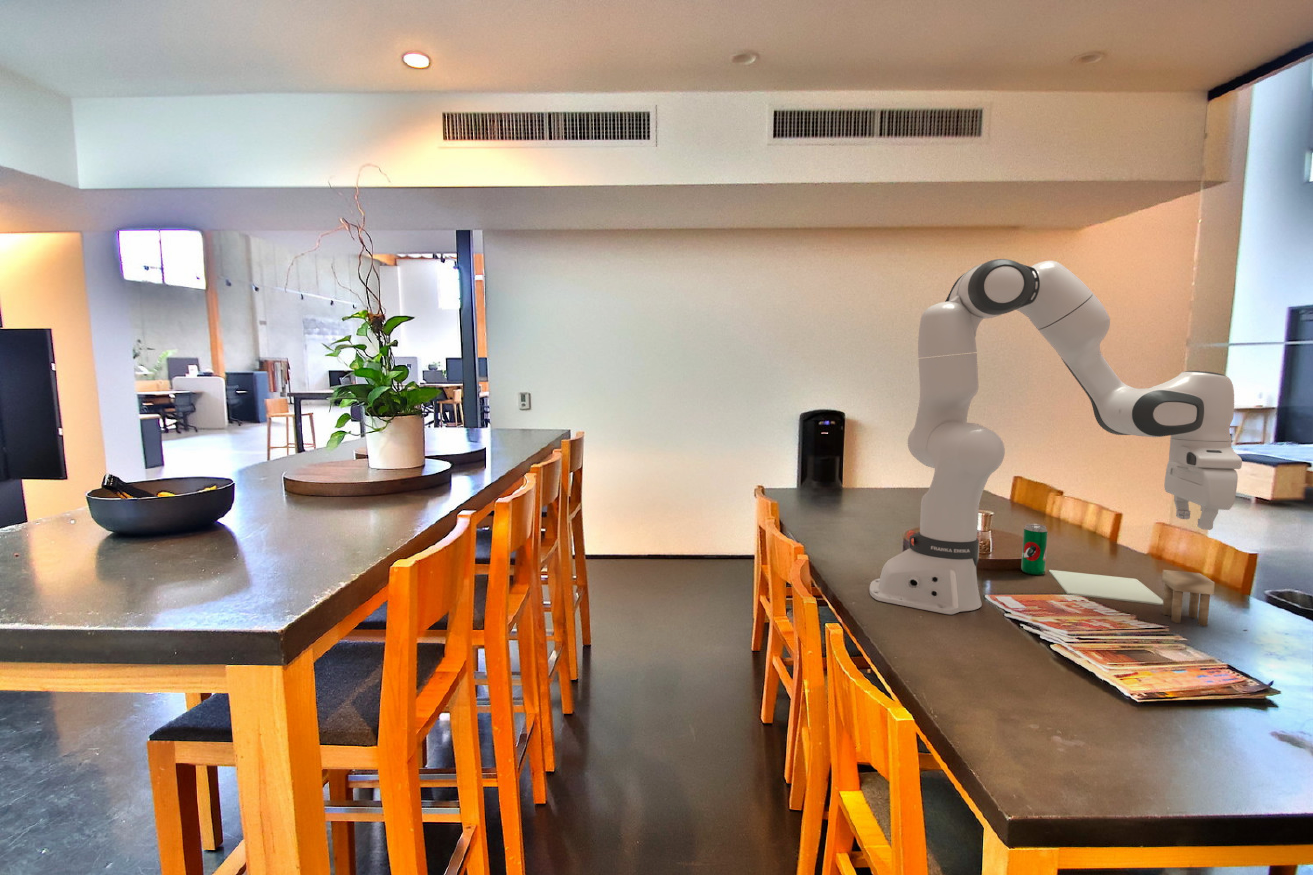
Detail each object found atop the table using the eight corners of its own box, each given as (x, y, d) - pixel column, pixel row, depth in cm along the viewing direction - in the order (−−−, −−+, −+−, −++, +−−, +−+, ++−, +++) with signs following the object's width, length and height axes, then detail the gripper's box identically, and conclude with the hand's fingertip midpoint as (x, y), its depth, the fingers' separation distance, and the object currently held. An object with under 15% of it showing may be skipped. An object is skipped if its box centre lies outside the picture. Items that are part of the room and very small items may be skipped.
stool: (1171, 622, 118) (1175, 578, 117) (1159, 611, 123) (1163, 569, 122) (1210, 627, 115) (1214, 582, 115) (1196, 616, 121) (1200, 573, 120)
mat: (1067, 594, 133) (1067, 592, 133) (1048, 571, 150) (1048, 569, 150) (1167, 605, 127) (1167, 604, 127) (1136, 580, 143) (1136, 578, 143)
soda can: (1048, 576, 146) (1051, 528, 145) (1025, 575, 147) (1028, 527, 146) (1039, 570, 151) (1042, 523, 150) (1017, 568, 152) (1020, 522, 151)
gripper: (1157, 448, 127) (1152, 511, 128) (1202, 459, 108) (1196, 533, 109) (1194, 449, 125) (1189, 514, 126) (1247, 461, 106) (1241, 537, 107)
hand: (1193, 523), depth 117 cm, fingers open, 8 cm apart
